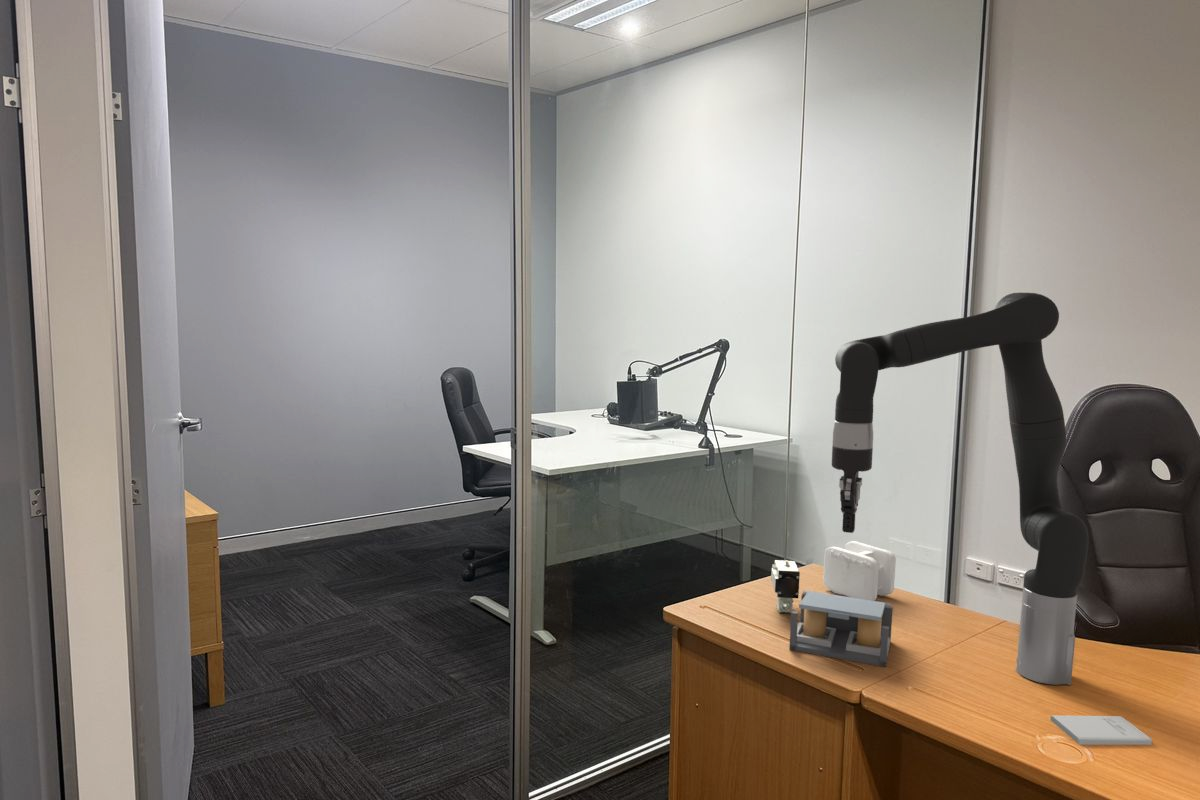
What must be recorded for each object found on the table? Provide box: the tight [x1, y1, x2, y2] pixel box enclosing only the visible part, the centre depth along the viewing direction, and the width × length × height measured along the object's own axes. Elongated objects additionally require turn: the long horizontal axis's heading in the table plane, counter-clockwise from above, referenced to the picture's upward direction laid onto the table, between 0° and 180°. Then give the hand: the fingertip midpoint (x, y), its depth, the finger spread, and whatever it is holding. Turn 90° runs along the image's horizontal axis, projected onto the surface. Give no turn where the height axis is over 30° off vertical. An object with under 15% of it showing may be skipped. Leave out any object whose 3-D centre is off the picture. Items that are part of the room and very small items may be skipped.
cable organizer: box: [822, 540, 897, 601], centre depth 205 cm, size 15×11×12 cm
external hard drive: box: [1049, 714, 1153, 746], centre depth 140 cm, size 2×8×12 cm
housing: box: [789, 590, 894, 668], centre depth 173 cm, size 19×14×8 cm
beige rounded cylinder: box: [857, 618, 882, 648], centre depth 171 cm, size 5×5×6 cm
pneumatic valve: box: [770, 559, 801, 614], centre depth 193 cm, size 6×12×12 cm, turn 174°
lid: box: [798, 590, 886, 621], centre depth 172 cm, size 16×13×1 cm
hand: (848, 531), depth 162 cm, fingers closed
